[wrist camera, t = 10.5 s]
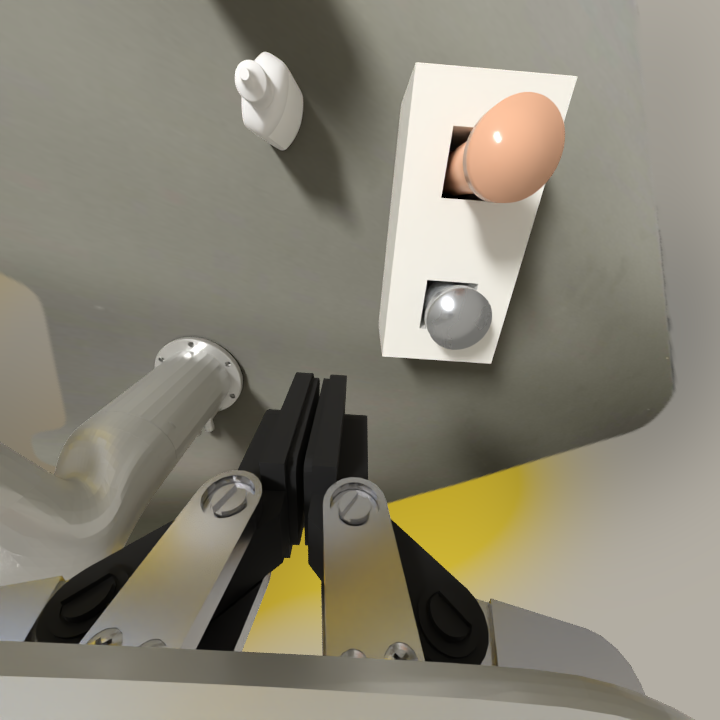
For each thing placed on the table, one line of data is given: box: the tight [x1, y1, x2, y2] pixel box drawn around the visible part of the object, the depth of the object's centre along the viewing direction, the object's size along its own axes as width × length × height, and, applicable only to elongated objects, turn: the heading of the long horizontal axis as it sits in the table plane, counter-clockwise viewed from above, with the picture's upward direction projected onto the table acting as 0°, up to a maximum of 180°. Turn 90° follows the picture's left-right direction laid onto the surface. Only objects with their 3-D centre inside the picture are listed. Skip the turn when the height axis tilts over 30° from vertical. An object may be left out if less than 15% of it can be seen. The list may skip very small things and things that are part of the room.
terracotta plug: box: [442, 92, 565, 203], centre depth 25 cm, size 6×6×14 cm
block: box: [379, 62, 577, 364], centre depth 32 cm, size 24×12×10 cm, turn 176°
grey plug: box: [423, 280, 492, 350], centre depth 33 cm, size 6×6×14 cm
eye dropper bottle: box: [235, 52, 303, 150], centre depth 26 cm, size 4×6×12 cm
